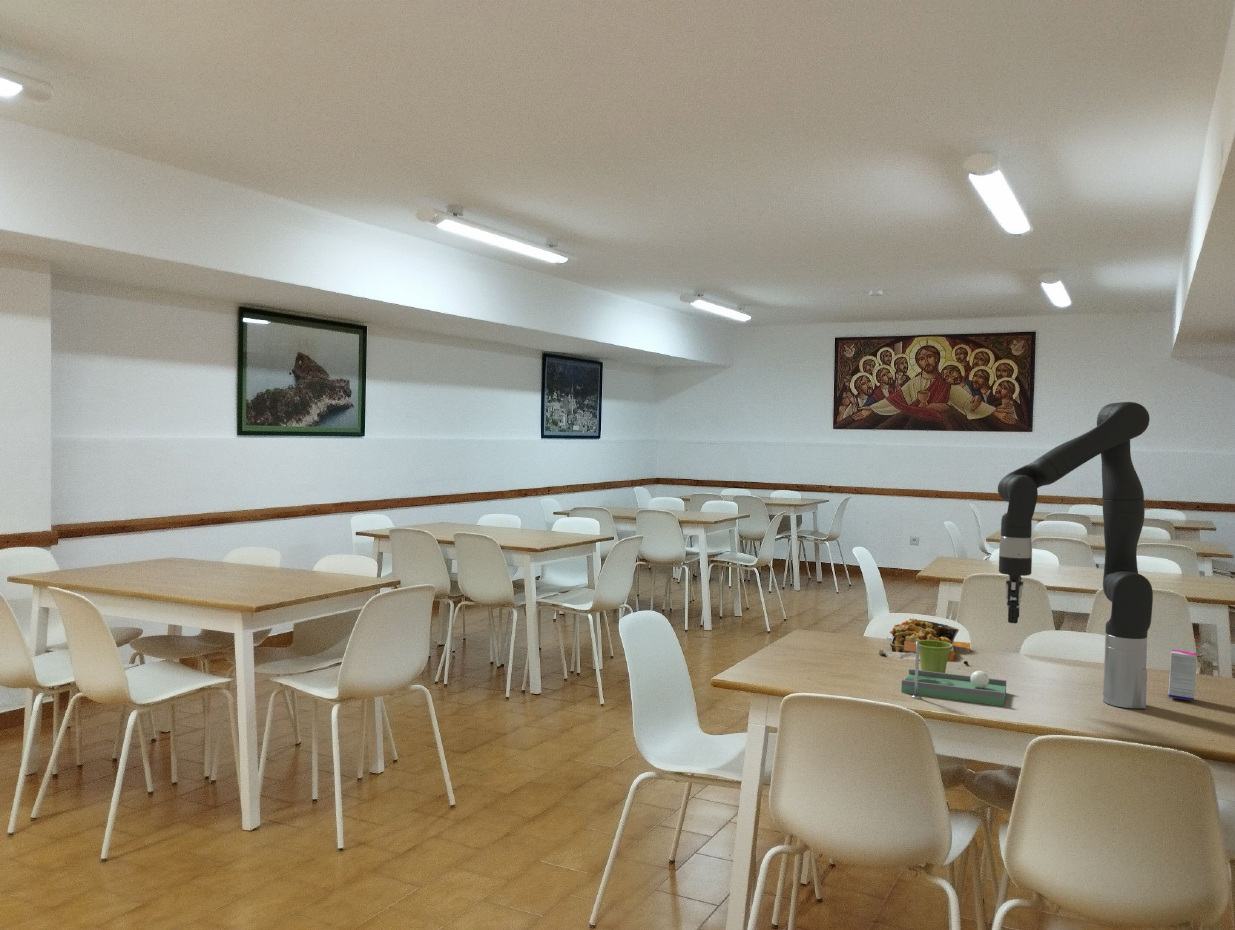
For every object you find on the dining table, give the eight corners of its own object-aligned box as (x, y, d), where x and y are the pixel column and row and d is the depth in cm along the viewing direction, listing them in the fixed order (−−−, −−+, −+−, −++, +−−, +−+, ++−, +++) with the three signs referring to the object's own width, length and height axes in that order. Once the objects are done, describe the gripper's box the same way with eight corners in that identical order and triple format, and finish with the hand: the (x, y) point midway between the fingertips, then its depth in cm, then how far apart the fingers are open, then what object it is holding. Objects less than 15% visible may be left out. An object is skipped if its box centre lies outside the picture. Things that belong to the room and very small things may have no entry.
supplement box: (1195, 700, 238) (1196, 655, 237) (1167, 697, 241) (1169, 652, 240) (1195, 695, 242) (1196, 651, 242) (1168, 692, 246) (1170, 648, 245)
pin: (921, 697, 234) (923, 642, 234) (920, 700, 232) (922, 643, 232) (903, 695, 236) (905, 640, 236) (901, 697, 234) (903, 641, 234)
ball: (989, 687, 238) (989, 670, 238) (988, 691, 234) (988, 673, 234) (970, 685, 240) (971, 667, 240) (969, 689, 236) (969, 671, 236)
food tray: (888, 637, 312) (889, 605, 312) (970, 645, 303) (971, 612, 303) (877, 659, 279) (878, 623, 279) (969, 668, 270) (970, 631, 270)
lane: (1006, 692, 241) (1006, 680, 241) (1003, 706, 228) (1003, 693, 228) (908, 680, 251) (909, 668, 251) (901, 693, 238) (901, 680, 238)
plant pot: (953, 680, 253) (954, 648, 253) (917, 677, 255) (918, 646, 255) (948, 672, 262) (949, 641, 262) (913, 669, 264) (914, 639, 264)
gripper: (1031, 559, 225) (1029, 626, 226) (1032, 553, 238) (1030, 617, 239) (997, 556, 229) (995, 623, 229) (1000, 551, 242) (999, 614, 242)
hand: (1013, 620), depth 234 cm, fingers open, 8 cm apart
